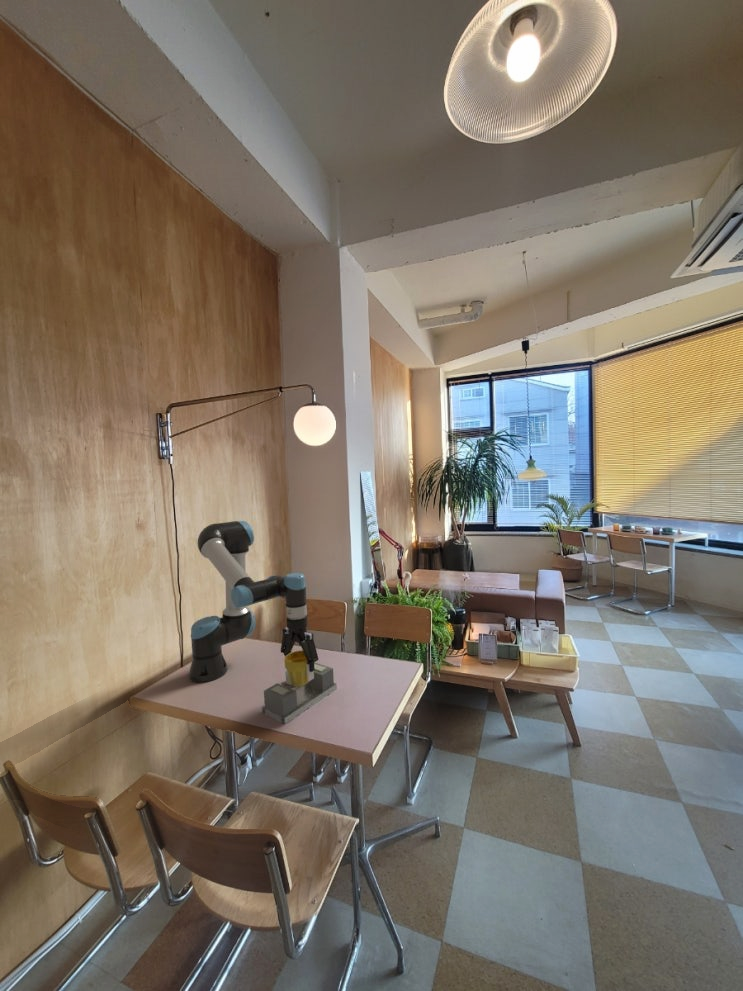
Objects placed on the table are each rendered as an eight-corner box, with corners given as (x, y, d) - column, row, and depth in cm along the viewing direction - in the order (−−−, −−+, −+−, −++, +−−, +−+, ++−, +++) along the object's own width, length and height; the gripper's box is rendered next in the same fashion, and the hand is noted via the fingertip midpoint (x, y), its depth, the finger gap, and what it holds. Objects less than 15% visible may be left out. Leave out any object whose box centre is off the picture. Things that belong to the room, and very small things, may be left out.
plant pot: (308, 690, 138) (307, 663, 137) (281, 688, 140) (279, 661, 139) (318, 675, 148) (317, 650, 147) (292, 674, 150) (291, 649, 150)
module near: (264, 707, 137) (263, 689, 137) (278, 699, 142) (277, 682, 142) (283, 716, 131) (282, 697, 131) (297, 707, 136) (296, 689, 136)
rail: (262, 712, 137) (261, 707, 137) (314, 680, 158) (314, 675, 158) (285, 724, 130) (284, 718, 130) (336, 688, 151) (336, 683, 151)
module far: (304, 683, 152) (303, 667, 152) (315, 677, 157) (314, 661, 157) (323, 690, 146) (322, 674, 146) (333, 683, 151) (332, 667, 151)
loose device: (286, 684, 157) (285, 672, 156) (290, 679, 160) (290, 667, 160) (299, 685, 155) (299, 673, 155) (304, 680, 159) (303, 668, 159)
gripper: (268, 614, 147) (271, 672, 148) (311, 625, 133) (315, 688, 134) (283, 608, 153) (287, 664, 154) (326, 618, 139) (329, 679, 140)
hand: (300, 675), depth 144 cm, fingers closed on plant pot, 10 cm apart
